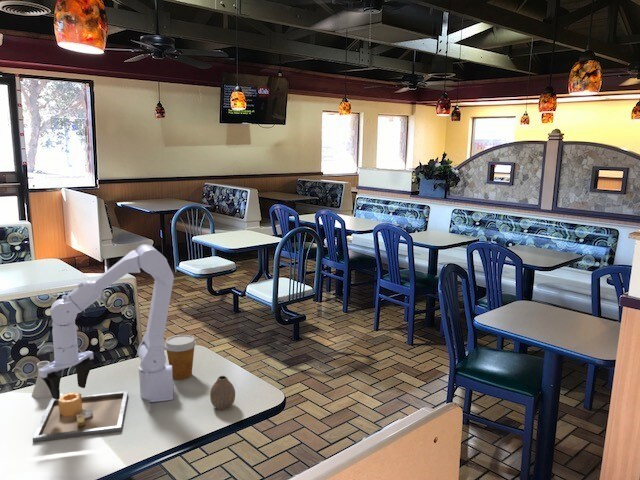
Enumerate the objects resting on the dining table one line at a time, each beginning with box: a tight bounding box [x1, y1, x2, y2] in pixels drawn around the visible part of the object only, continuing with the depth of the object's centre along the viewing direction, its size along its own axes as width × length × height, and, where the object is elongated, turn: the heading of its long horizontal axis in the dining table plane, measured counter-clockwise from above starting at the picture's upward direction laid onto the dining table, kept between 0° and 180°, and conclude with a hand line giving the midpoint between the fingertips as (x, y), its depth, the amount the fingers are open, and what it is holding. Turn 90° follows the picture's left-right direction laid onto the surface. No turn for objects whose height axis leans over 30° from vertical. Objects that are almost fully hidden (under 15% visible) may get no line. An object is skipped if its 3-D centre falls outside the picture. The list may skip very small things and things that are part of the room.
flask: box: [31, 360, 61, 399], centre depth 149 cm, size 7×7×10 cm
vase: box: [209, 375, 236, 411], centre depth 144 cm, size 7×7×9 cm
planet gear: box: [58, 391, 82, 416], centre depth 139 cm, size 5×5×4 cm
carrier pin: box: [77, 415, 85, 428], centre depth 132 cm, size 2×2×3 cm
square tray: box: [32, 390, 129, 444], centre depth 137 cm, size 20×20×1 cm
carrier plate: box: [33, 397, 126, 444], centre depth 137 cm, size 20×20×1 cm
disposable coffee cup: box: [164, 334, 197, 381], centre depth 162 cm, size 10×10×12 cm
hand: (69, 392), depth 138 cm, fingers open, 7 cm apart
